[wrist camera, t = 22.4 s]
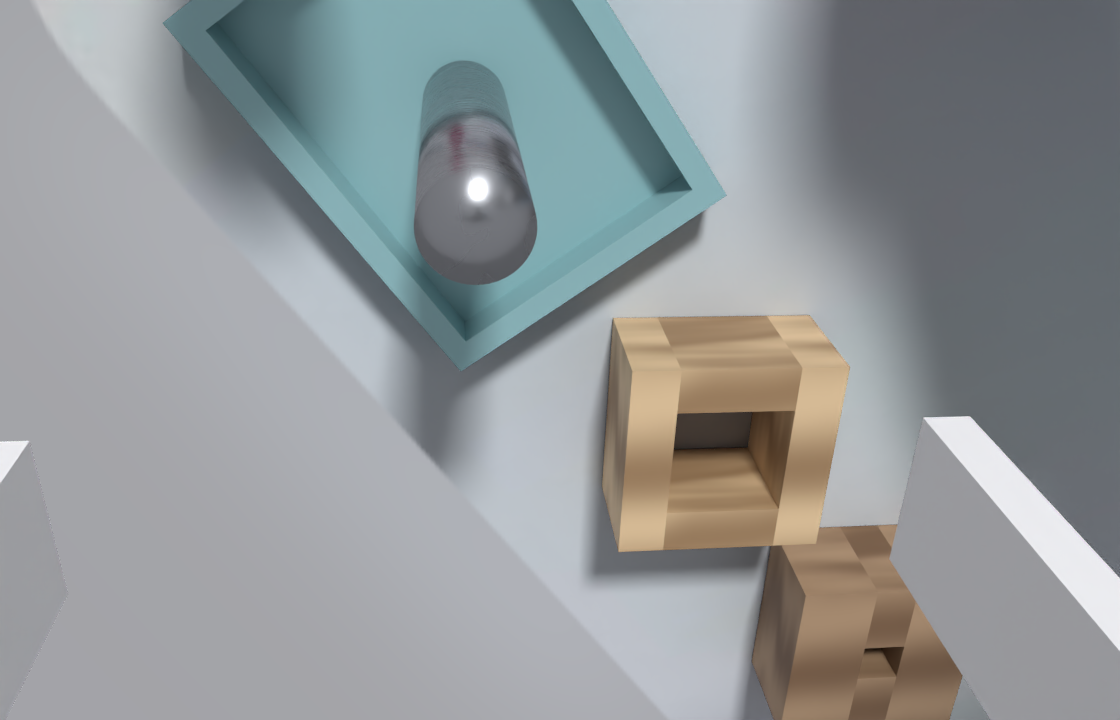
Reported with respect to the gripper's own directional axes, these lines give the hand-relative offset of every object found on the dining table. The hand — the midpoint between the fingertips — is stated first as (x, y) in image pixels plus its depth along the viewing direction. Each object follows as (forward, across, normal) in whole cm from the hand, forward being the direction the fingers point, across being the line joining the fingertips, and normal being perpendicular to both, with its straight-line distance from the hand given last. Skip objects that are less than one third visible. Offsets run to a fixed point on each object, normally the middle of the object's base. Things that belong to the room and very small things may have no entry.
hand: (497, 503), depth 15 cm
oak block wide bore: (+27, +11, -14) cm, 32 cm away
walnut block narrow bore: (+27, +20, -26) cm, 42 cm away
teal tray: (+27, 0, 0) cm, 27 cm away
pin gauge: (+26, 0, 0) cm, 26 cm away
